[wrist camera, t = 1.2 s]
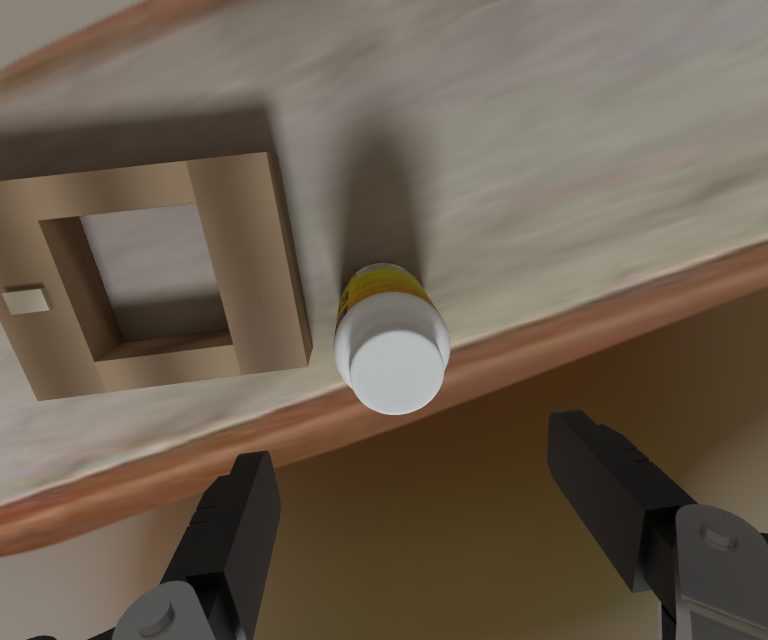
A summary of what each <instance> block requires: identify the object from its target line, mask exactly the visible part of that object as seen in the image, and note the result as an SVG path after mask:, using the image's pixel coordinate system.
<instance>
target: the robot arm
mask: <svg viewBox="0 0 768 640" xmlns="http://www.w3.org/2000/svg"><path fill="white" fill-rule="evenodd" d="M547 460H548V466H549V469H550V472H551V475H552V477H553V479H554V480H555V482H556V484H557V485H558V486H559V488H560V489H561V491H562V492H563V494H564V495H565V496H566V498H567V499H568V501H569V502H570V504H571V505H572V507H573V508H574V509H575V511H576V512H577V514H578V515H579V517H580V518H581V520H582V521H583V523H584V524H585V525H586V527H587V528H588V530H589V531H590V533H591V534H592V536H593V537H594V538H595V540H596V541H597V543H598V544H599V546H600V547H601V549H602V550H603V551H604V553H605V554H606V556H607V557H608V559H609V560H610V562H611V563H612V564H613V566H614V567H615V569H616V570H617V572H618V573H619V575H620V576H621V577H622V579H623V580H624V582H625V583H626V585H627V586H628V588H629V589H630V590H631V592H632V593H635V592H642V591H648V590H652V591H653V592H654V593H655V594H656V596H657V597H658V599H659V600H660V602H659V606H658V639H659V640H768V534H766V533H759V532H758V530H756V529H755V528H754V527H753V526H752V525H750V524H749V523H748V522H746V521H745V520H743V519H742V518H740V517H738V516H736V515H734V514H733V513H731V512H728V511H726V510H723V509H720V508H717V507H714V506H709V505H703V504H698V503H697V502H696V501H694V500H693V499H692V498H691V497H690V496H689V495H688V494H687V493H686V492H685V491H684V490H683V489H681V488H680V487H679V486H678V485H677V484H676V483H675V482H674V481H673V480H671V479H670V478H669V477H668V476H667V475H666V474H665V473H664V472H663V471H662V470H661V469H659V468H658V467H657V466H656V465H655V464H654V463H653V462H650V461H649V459H648V458H647V457H646V456H645V455H644V454H643V453H642V452H641V451H640V450H637V448H636V447H635V446H634V445H633V444H632V443H631V442H630V441H629V440H628V439H627V438H625V437H624V436H623V435H622V434H620V433H618V432H616V431H614V430H613V429H611V428H609V427H607V426H605V425H603V424H600V425H596V424H595V423H594V422H593V421H592V420H591V419H590V418H589V417H588V416H587V415H586V414H585V413H584V412H583V411H582V410H580V409H573V410H566V411H559V412H552V413H551V414H550V416H549V426H548V449H547ZM280 505H281V502H280V494H279V490H278V486H277V481H276V477H275V473H274V469H273V465H272V461H271V457H270V454H269V452H268V451H259V452H252V453H245V454H239V455H238V456H237V458H236V461H235V463H234V465H233V468H232V470H231V472H230V475H225V476H219V477H218V478H217V479H216V480H215V482H214V483H213V484H212V485H211V486H210V487H209V488H208V489H207V490H206V491H205V492H204V494H203V497H202V498H201V500H200V502H199V504H198V507H197V511H196V512H195V513H194V515H193V517H192V519H191V521H190V526H189V527H187V529H186V531H185V533H184V535H183V537H182V539H181V541H180V543H179V545H178V547H177V549H176V551H175V553H174V556H173V558H172V560H171V562H170V564H169V566H168V568H167V570H166V572H165V574H164V576H163V578H162V580H161V582H160V584H159V585H158V586H156V587H154V588H152V589H151V590H149V591H147V592H146V593H144V594H143V595H142V596H140V597H139V598H138V599H137V600H136V601H135V602H134V603H132V605H131V606H130V607H129V608H128V609H127V610H126V611H125V612H124V614H123V615H122V617H121V618H120V620H119V621H118V623H117V625H116V627H114V628H112V629H110V630H108V631H106V632H104V633H102V634H99V635H97V636H94V637H92V638H90V639H88V640H253V636H254V632H255V627H256V623H257V618H258V614H259V609H260V605H261V600H262V596H263V591H264V587H265V582H266V578H267V573H268V569H269V564H270V560H271V555H272V551H273V546H274V542H275V537H276V533H277V528H278V524H279V519H280V510H281V507H280ZM27 640H56V639H55V638H54V637H51V636H37V637H34V638H30V639H27Z"/></svg>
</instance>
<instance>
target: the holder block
mask: <svg viewBox="0 0 768 640" xmlns="http://www.w3.org/2000/svg"><path fill="white" fill-rule="evenodd" d="M190 203H197V207H198V211H199V215H200V219H201V222H202V226H203V230H204V234H205V238H206V242H207V245H208V249H209V253H210V257H211V261H212V265H213V269H214V272H215V276H216V280H217V284H218V288H219V292H220V295H221V299H222V303H223V307H224V311H225V315H226V318H227V322H228V326H229V329H228V330H219V331H211V332H203V333H195V334H187V335H179V336H171V337H163V338H155V339H147V340H139V341H131V342H124V341H123V338H122V335H121V333H120V330H119V327H118V324H117V322H116V319H115V316H114V313H113V311H112V308H111V305H110V302H109V300H108V297H107V294H106V291H105V289H104V286H103V283H102V280H101V278H100V275H99V272H98V269H97V267H96V264H95V261H94V258H93V256H92V253H91V250H90V247H89V245H88V242H87V239H86V236H85V234H84V231H83V228H82V225H81V223H80V220H79V217H78V216H85V215H93V214H102V213H111V212H120V211H129V210H137V209H146V208H155V207H164V206H173V205H181V204H190ZM0 322H1V324H2V326H3V328H4V330H5V332H6V334H7V337H8V339H9V341H10V343H11V345H12V347H13V349H14V351H15V354H16V356H17V358H18V360H19V362H20V364H21V366H22V368H23V371H24V373H25V375H26V377H27V379H28V381H29V383H30V385H31V387H32V390H33V392H34V394H35V396H36V398H37V400H38V401H43V400H51V399H59V398H67V397H75V396H82V395H90V394H98V393H106V392H114V391H122V390H129V389H137V388H145V387H153V386H161V385H169V384H176V383H184V382H192V381H200V380H208V379H216V378H224V377H231V376H239V375H247V374H255V373H263V372H271V371H278V370H286V369H294V368H302V367H308V363H309V360H310V356H311V352H312V349H313V345H312V340H311V334H310V329H309V324H308V318H307V313H306V307H305V302H304V297H303V291H302V286H301V280H300V275H299V269H298V264H297V259H296V253H295V248H294V242H293V237H292V232H291V226H290V221H289V215H288V210H287V204H286V199H285V194H284V188H283V183H282V177H281V172H280V167H279V161H278V156H276V155H273V154H270V153H268V152H260V153H251V154H242V155H232V156H223V157H214V158H205V159H196V160H187V161H178V162H169V163H160V164H151V165H142V166H133V167H124V168H114V169H105V170H96V171H87V172H78V173H69V174H60V175H51V176H42V177H33V178H24V179H15V180H6V181H0Z"/></svg>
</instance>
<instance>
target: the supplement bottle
mask: <svg viewBox="0 0 768 640" xmlns="http://www.w3.org/2000/svg"><path fill="white" fill-rule="evenodd" d="M449 355H450V337H449V333H448V329H447V327H446V324H445V322H444V321H443V319H442V317H441V315H440V314H439V312H438V311H437V309H436V308H435V306H434V305H433V303H432V302H431V300H430V299H429V297H428V295H427V294H426V292H425V291H424V289H423V288H422V286H421V285H420V283H419V282H418V280H417V279H416V278H415V277H414V276H413V275H412V274H411V273H410V272H409V271H408V270H406V269H404V268H402V267H400V266H398V265H394V264H390V263H376V264H372V265H369V266H366V267H364V268H362V269H360V270H359V271H357V272H356V273H355V274H353V275H352V276H351V277H350V279H349V280H348V281H347V283H346V284H345V286H344V288H343V291H342V293H341V297H340V303H339V310H338V317H337V324H336V331H335V337H334V358H335V363H336V366H337V369H338V371H339V373H340V375H341V377H342V378H343V379H344V381H345V382H346V383H347V384H348V385H349V386H350V387H351V388H352V389H353V390H354V392H355V394H356V395H357V397H358V398H359V399H360V401H361V402H362V403H364V404H365V405H366V406H367V407H369V408H371V409H373V410H375V411H377V412H380V413H384V414H390V415H400V414H406V413H410V412H413V411H415V410H417V409H420V408H421V407H423V406H425V405H426V404H427V403H428V402H429V401H431V400H432V399H433V397H434V396H435V395H436V394H437V392H438V390H439V389H440V387H441V384H442V381H443V377H444V370H445V368H446V366H447V363H448V360H449Z"/></svg>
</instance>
